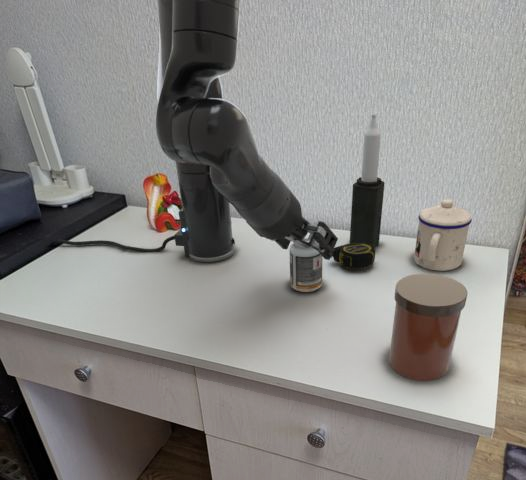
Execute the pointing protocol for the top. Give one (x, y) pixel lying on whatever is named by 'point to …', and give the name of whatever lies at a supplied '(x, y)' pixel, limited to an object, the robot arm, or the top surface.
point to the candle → (368, 192)
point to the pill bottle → (305, 267)
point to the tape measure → (355, 255)
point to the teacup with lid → (441, 236)
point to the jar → (425, 325)
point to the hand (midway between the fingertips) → (308, 249)
